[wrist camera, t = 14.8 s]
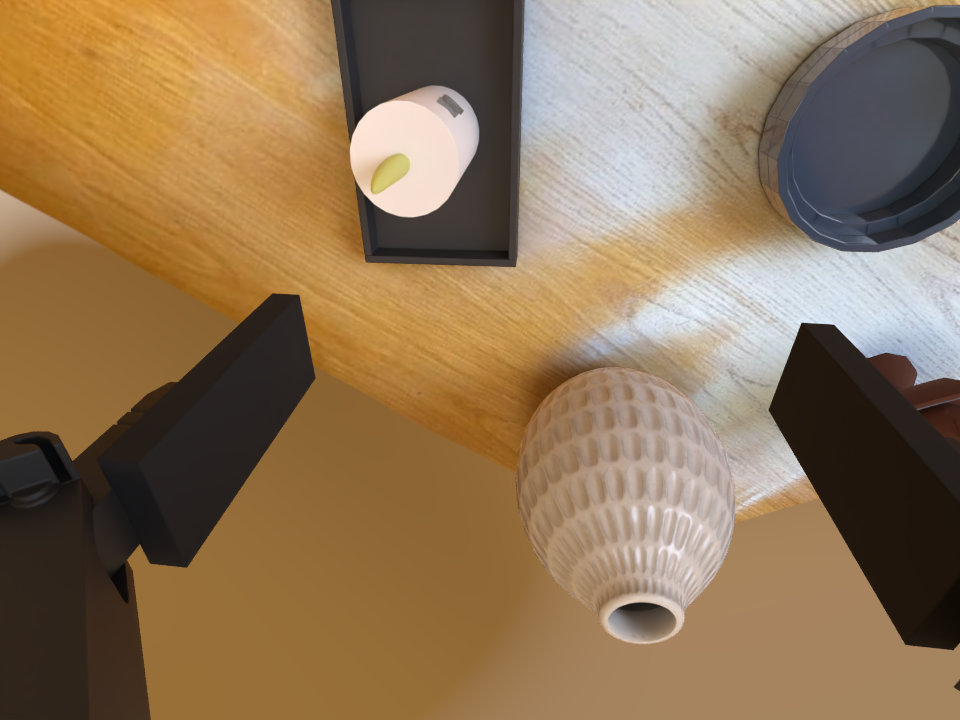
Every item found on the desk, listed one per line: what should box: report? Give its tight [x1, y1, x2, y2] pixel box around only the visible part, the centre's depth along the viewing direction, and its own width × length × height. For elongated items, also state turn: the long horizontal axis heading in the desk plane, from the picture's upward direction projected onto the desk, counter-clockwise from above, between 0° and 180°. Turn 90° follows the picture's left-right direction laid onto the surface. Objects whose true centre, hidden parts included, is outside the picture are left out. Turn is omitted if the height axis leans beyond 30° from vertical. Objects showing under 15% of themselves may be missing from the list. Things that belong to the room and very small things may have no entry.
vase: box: [516, 367, 736, 644], centre depth 40 cm, size 16×16×22 cm
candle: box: [350, 85, 479, 217], centre depth 32 cm, size 6×6×15 cm
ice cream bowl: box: [868, 353, 960, 441], centre depth 39 cm, size 11×11×15 cm
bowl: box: [759, 5, 960, 252], centre depth 34 cm, size 14×14×4 cm
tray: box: [331, 0, 525, 267], centre depth 38 cm, size 19×12×2 cm, turn 1°
